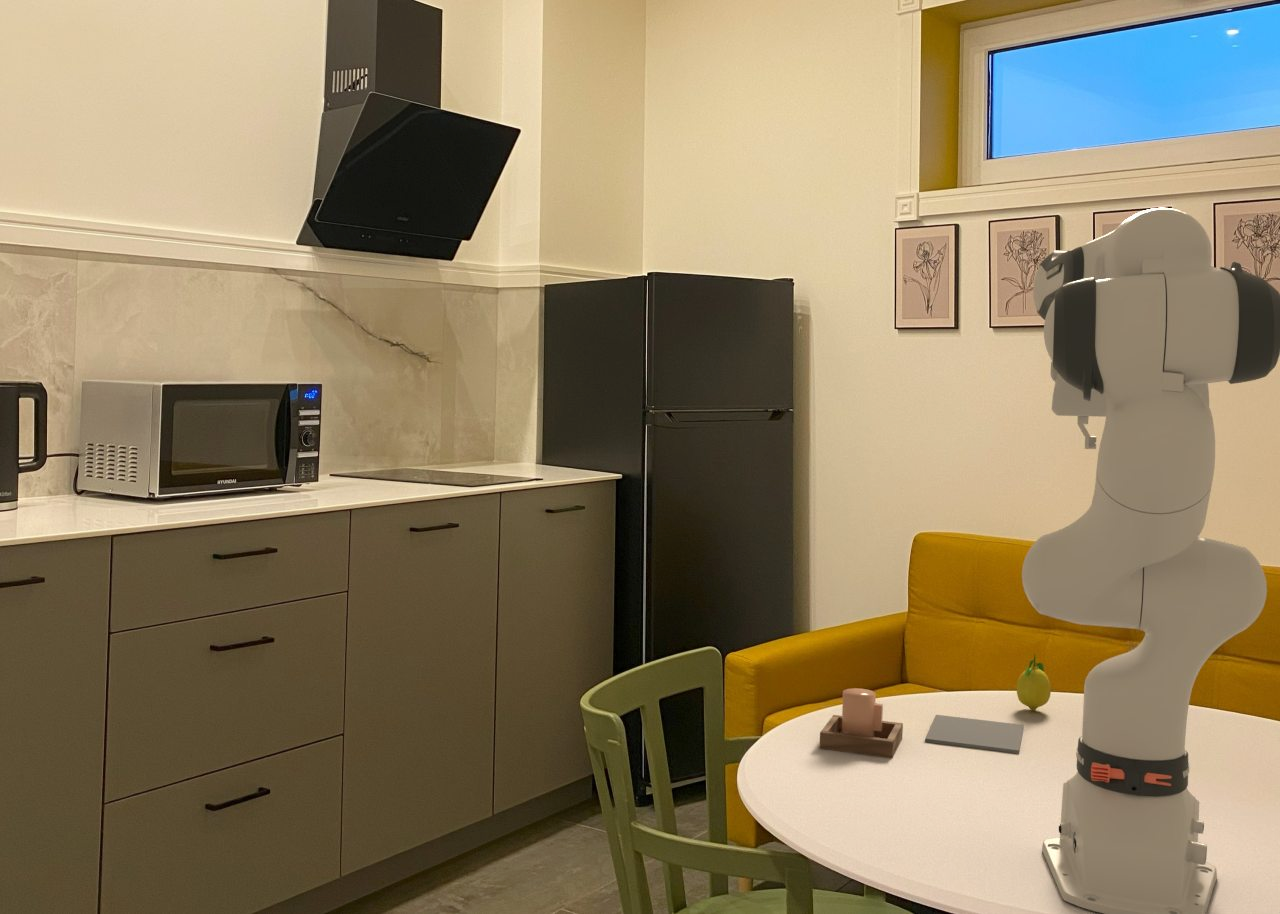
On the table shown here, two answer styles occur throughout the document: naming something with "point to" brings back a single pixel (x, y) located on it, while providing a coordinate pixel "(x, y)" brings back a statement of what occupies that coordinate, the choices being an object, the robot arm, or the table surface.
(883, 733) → the brown wooden frame
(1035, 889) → the table surface
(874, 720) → the capsule with tab
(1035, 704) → the lemon
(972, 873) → the table surface
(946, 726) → the mat
